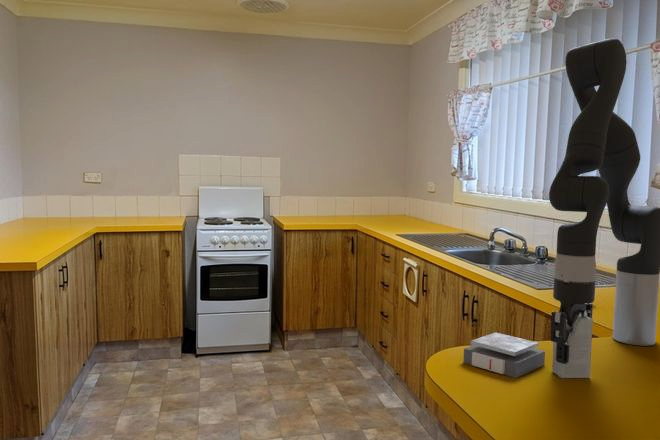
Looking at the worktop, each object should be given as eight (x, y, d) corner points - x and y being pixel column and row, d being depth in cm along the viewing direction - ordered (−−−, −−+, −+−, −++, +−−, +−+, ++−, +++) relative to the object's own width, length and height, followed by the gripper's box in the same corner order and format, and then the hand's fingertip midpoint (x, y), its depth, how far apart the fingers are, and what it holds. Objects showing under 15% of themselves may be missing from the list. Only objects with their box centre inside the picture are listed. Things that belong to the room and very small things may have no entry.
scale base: (493, 351, 123) (493, 338, 123) (544, 365, 114) (545, 351, 114) (460, 363, 114) (461, 349, 114) (513, 379, 105) (514, 364, 105)
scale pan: (495, 338, 121) (495, 332, 121) (538, 348, 114) (538, 342, 114) (470, 346, 114) (471, 340, 114) (514, 358, 107) (515, 352, 107)
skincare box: (579, 371, 111) (583, 313, 110) (590, 378, 107) (594, 319, 106) (550, 371, 111) (553, 313, 110) (560, 378, 106) (563, 318, 105)
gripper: (571, 270, 115) (567, 346, 116) (539, 278, 105) (535, 361, 106) (608, 275, 109) (603, 355, 111) (578, 284, 100) (574, 371, 101)
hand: (570, 358), depth 108 cm, fingers closed on skincare box, 7 cm apart
